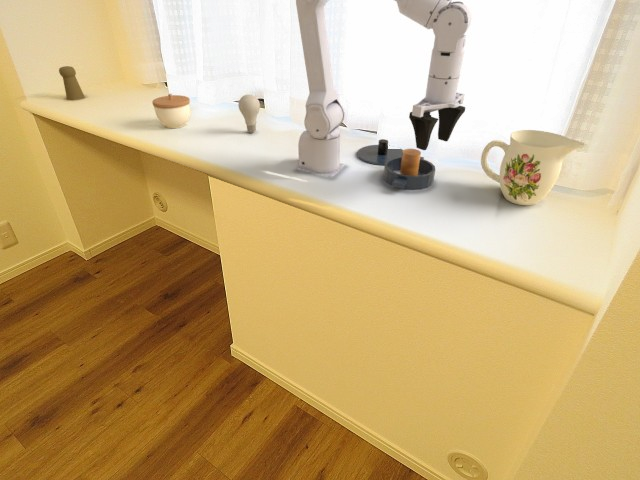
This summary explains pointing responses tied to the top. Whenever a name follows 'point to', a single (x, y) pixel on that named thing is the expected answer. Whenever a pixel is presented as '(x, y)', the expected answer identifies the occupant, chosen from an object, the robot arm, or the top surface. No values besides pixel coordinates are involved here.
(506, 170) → the pitcher
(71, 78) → the grey-brown tapered knobbed cylinder
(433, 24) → the robot arm
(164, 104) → the trinket box
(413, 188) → the pot
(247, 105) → the lightbulb
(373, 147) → the lid
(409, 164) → the peg
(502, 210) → the top surface
